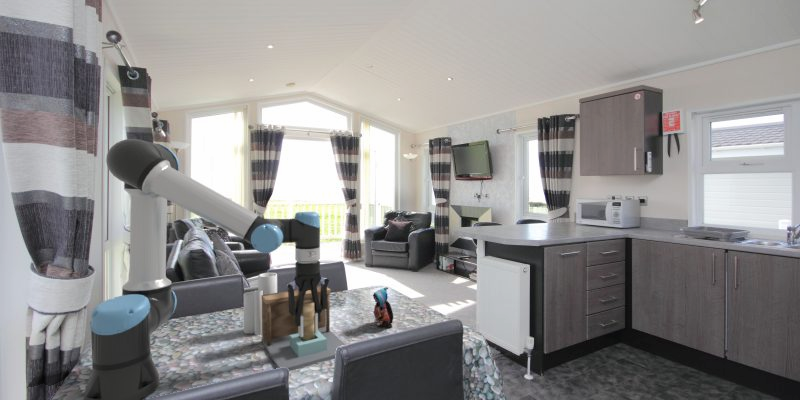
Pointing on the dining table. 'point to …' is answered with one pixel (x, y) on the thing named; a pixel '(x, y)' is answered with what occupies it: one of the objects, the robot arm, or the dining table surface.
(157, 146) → the robot arm
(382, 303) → the figurine
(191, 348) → the dining table surface
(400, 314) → the dining table surface
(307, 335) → the oak peg
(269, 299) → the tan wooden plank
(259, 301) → the vase
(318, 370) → the dining table surface
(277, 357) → the socket board
